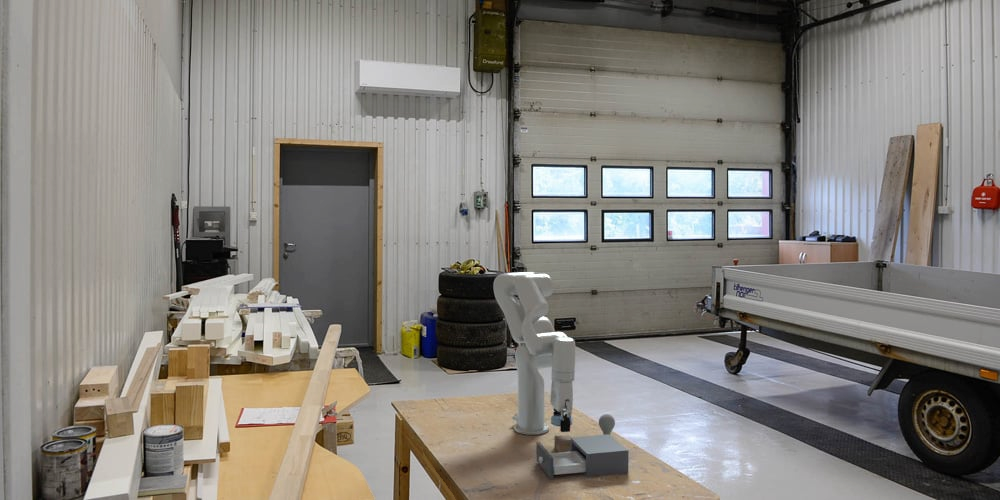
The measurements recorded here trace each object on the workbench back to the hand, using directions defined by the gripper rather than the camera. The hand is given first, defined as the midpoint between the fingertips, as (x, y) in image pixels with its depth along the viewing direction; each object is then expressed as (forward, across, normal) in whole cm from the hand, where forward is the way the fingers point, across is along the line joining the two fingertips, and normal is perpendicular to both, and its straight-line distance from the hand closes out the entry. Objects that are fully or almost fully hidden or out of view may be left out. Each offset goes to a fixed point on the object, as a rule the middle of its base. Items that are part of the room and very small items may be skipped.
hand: (561, 426), depth 214 cm
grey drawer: (+6, +18, -6) cm, 20 cm away
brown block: (+7, +2, 0) cm, 7 cm away
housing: (+6, +18, +6) cm, 20 cm away
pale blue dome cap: (-1, 0, 0) cm, 1 cm away
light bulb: (+7, 0, +16) cm, 18 cm away
